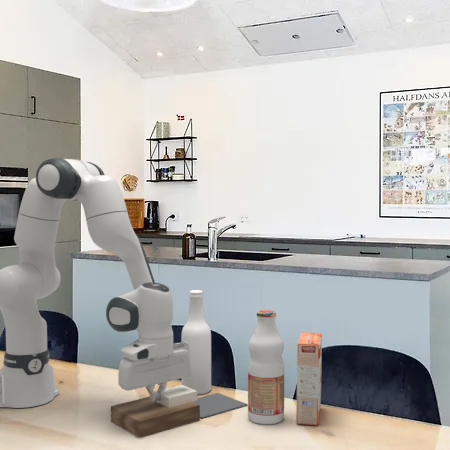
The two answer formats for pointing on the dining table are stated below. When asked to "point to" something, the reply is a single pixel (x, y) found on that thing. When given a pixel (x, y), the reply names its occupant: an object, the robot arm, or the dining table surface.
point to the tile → (177, 396)
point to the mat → (217, 404)
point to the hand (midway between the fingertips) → (156, 400)
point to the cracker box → (309, 378)
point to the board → (152, 416)
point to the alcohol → (198, 345)
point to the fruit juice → (266, 371)
